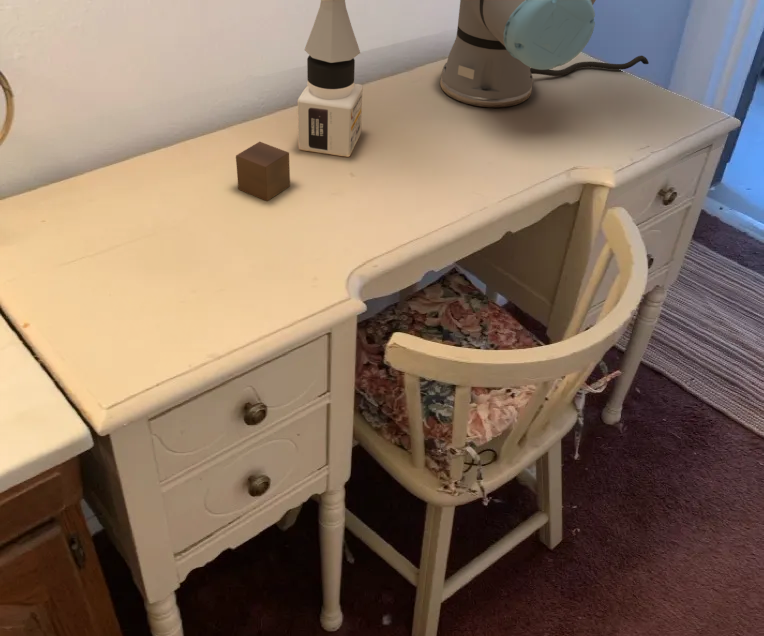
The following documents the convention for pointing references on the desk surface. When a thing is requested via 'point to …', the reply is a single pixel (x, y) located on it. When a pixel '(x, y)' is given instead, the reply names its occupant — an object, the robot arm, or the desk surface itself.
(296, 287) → the desk surface
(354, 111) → the container
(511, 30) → the robot arm
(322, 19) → the flask
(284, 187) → the walnut block
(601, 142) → the desk surface
